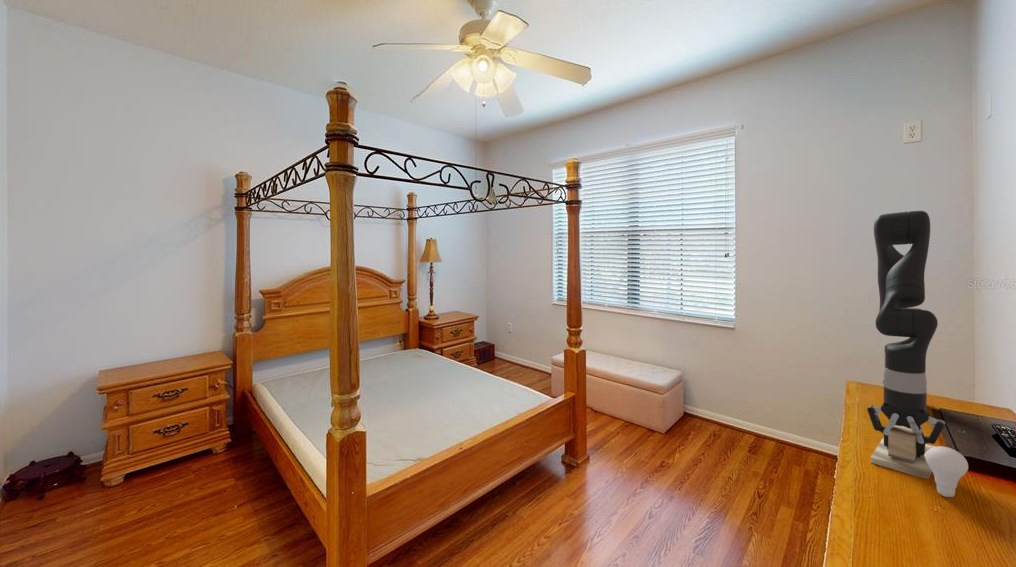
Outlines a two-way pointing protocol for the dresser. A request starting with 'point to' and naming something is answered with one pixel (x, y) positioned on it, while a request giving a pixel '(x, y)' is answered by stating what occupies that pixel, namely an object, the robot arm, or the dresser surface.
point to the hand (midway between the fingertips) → (903, 451)
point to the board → (902, 462)
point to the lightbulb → (946, 468)
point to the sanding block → (902, 443)
